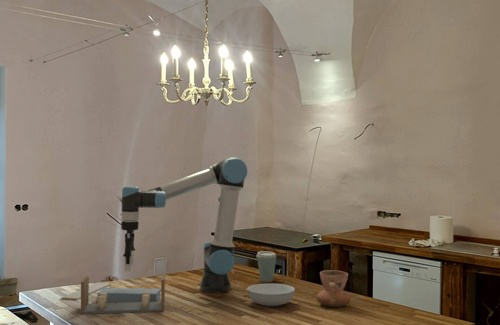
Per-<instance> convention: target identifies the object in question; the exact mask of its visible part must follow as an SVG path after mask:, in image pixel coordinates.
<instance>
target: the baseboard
mask: <svg viewBox="0 0 500 325" xmlns="http://www.w3.org/2000/svg"><path fill="white" fill-rule="evenodd" d="M95 282H96V281H95ZM95 282H92V283H93V284H91V285H89V296H90V295H92V294H94V293H98V292H100V291H101V290H102V289H103V288H108V287H110V286H111V282H108V283H107V282H106V281H105V280H100V282H96V283H95ZM59 300H63V301H64V300H65V301H66V300H67V301H79V300H81V289H79V290H77V291H74V292H72V293H69V294H67V295H64V296H62V297H61V298H59Z"/></svg>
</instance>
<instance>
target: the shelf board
mask: <svg viewBox="0 0 500 325" xmlns="http://www.w3.org/2000/svg"><path fill="white" fill-rule="evenodd" d="M146 291H148V292H150V302H156V301H159V300H161V288H120V287H119V288H117V287H116V288H114V287H113V288H112V287H111V288H110V287H109V288H108V287H106V288H103V289H101V290H99V291H97V297H98V296H100V293H107V303H115V302H117V303H125V302H142V295H143V292H146Z"/></svg>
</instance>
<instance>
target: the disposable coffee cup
mask: <svg viewBox="0 0 500 325" xmlns="http://www.w3.org/2000/svg"><path fill="white" fill-rule="evenodd" d="M256 259H257V266H258V272H259V277H260V281H261V282H262V283H271V282H273V281H274V279H275V278H274V277H275V269H276V262H277V254H276V253H275V252H273V251H268V250H267V251H265V250H261V251H258V252H257V254H256Z"/></svg>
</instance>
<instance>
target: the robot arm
mask: <svg viewBox="0 0 500 325" xmlns="http://www.w3.org/2000/svg"><path fill="white" fill-rule="evenodd" d="M247 175H248V166H247V164H246V163H245V161H243V159H241V158H239V157H232V156H231V157H227V158H224V159H221V161H218V162H217V163H214V164H213V165H210V166H209V167H208V168H207V169H205V170H202V171H201V170H200V171H198V172H196V173H193V174H191V175H188V176H184V177H183V178H179V179H176V180H174V181H171V182H167V183H165V184H163V185H160V186H158V187H155V188H151V189H150V188H149V189H148V190H140V187H139V186H123V188H122V190H121V213H120V215H119V216H121V220H122V221H121V226H120V228H121V230H122V231H126V232H125V234H124V244H125V245H124V254H122V256H123V257H124V272H132V266H134V258H135V257H134V255H135V253H134V252H135V251H136V248H135V246H134V245H135V243H134V242H135V231H138V230H139V221H138V220H139V219H140V218H139V217H140V211H139V209H140V208H145V209H146V208H148V209H149V208H151V209H154V208H155V209H161V208H165V207H166V202H167V201H170V200H172V199H175V198H177V197H180V196H182V195H186V194H189V193H191V192H194V191H197V190H200V189H202V188H205V187H208V186H211V185H213V184H215V185H218V186H219V188H220V195H219V202H218V208H217V216H216V222H215V228H214V235H213V239H212V240H211V241H210V242H209V241H206V242H205V243H204V244H203V274H202V278H201V280H200V283H199V284H200V285H199V289H200V290H201V291H202V292H207V293H222V292H228V291H231V289H232V285H231V284H232V283H231V281H230V276H229V273H230V272H231V271H232V270H233V268H234V266H235V257H234V255H235V254H234V253H235V246H236V245H235V244H234V243H233V238H234V237H233V236H234V230H235V224H236V216H237V210H238V203H239V196H240V191H242V190H243V189H244V184H245V179H246V178H247Z"/></svg>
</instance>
